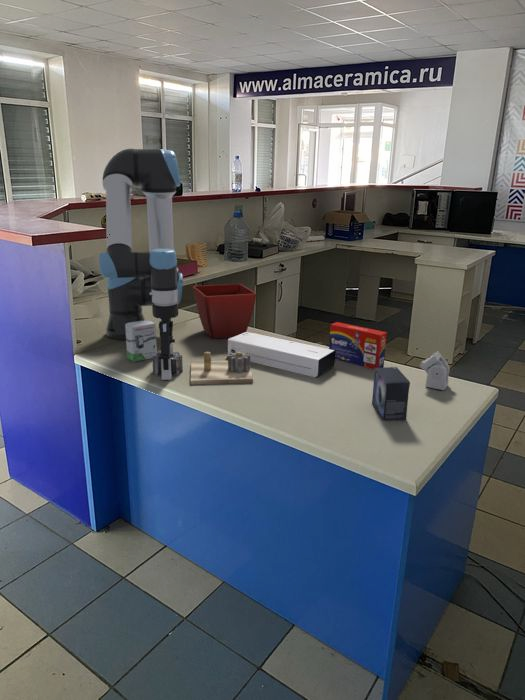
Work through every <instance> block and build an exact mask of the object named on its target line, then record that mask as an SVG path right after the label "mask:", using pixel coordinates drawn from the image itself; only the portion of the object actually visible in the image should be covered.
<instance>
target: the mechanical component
mask: <svg viewBox="0 0 525 700" xmlns="http://www.w3.org/2000/svg"><path fill="white" fill-rule="evenodd" d="M419 367H420V368H421V370H423V371H424V372H425V373H426V374H427V376H426V380H425V382H426V383H425V388H426V387H427V388H430V389H435V390H439V391H440V390H441V391H445V390H446V389H447V387H448V386H449V378H450V377H449V375H450V366H449V364H448V362H447V360H445V358H444V356H442V354H441V353H440V352H439V351H436V352H434V353H432V354H431V355H430V356H428V358H426V359H424V360H422V361H421V362H420V364H419Z"/></svg>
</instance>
